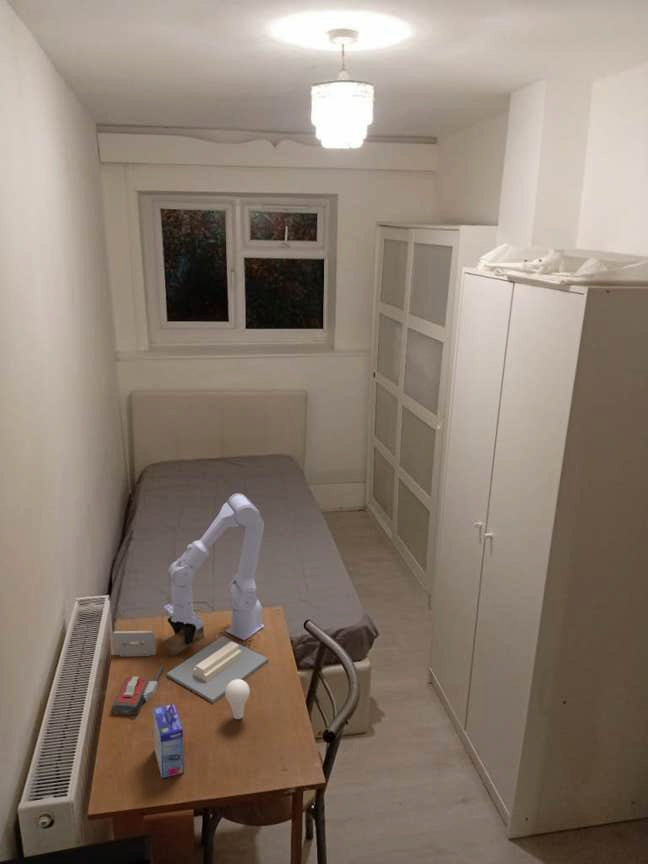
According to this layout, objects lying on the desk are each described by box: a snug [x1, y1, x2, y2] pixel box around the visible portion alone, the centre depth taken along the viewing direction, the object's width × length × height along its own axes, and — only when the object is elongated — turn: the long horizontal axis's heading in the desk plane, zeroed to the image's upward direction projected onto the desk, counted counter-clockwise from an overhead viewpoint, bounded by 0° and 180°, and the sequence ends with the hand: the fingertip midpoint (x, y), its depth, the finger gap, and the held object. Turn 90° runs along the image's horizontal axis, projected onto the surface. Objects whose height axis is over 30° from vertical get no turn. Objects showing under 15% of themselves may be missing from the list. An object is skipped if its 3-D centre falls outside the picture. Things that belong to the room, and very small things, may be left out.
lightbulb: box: [224, 679, 251, 720], centre depth 167 cm, size 6×6×11 cm
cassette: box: [111, 630, 157, 657], centre depth 191 cm, size 12×2×8 cm, turn 93°
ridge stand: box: [166, 635, 269, 704], centre depth 186 cm, size 22×18×4 cm
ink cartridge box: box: [152, 703, 185, 779], centre depth 152 cm, size 10×6×14 cm, turn 24°
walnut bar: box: [164, 626, 205, 657], centre depth 197 cm, size 12×4×4 cm, turn 144°
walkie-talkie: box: [112, 664, 164, 717], centre depth 177 cm, size 9×4×20 cm
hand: (184, 640), depth 197 cm, fingers closed on walnut bar, 3 cm apart
